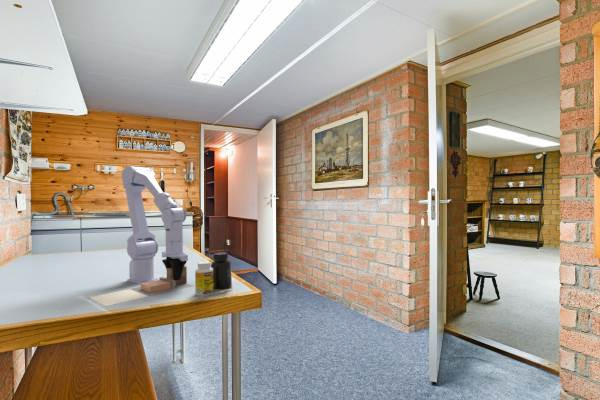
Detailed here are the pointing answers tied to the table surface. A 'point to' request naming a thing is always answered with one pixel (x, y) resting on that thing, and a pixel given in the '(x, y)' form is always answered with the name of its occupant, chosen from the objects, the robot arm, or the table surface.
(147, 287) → the terracotta tile
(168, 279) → the pusher
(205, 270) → the supplement bottle
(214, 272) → the supplement bottle
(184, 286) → the board
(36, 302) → the table surface
